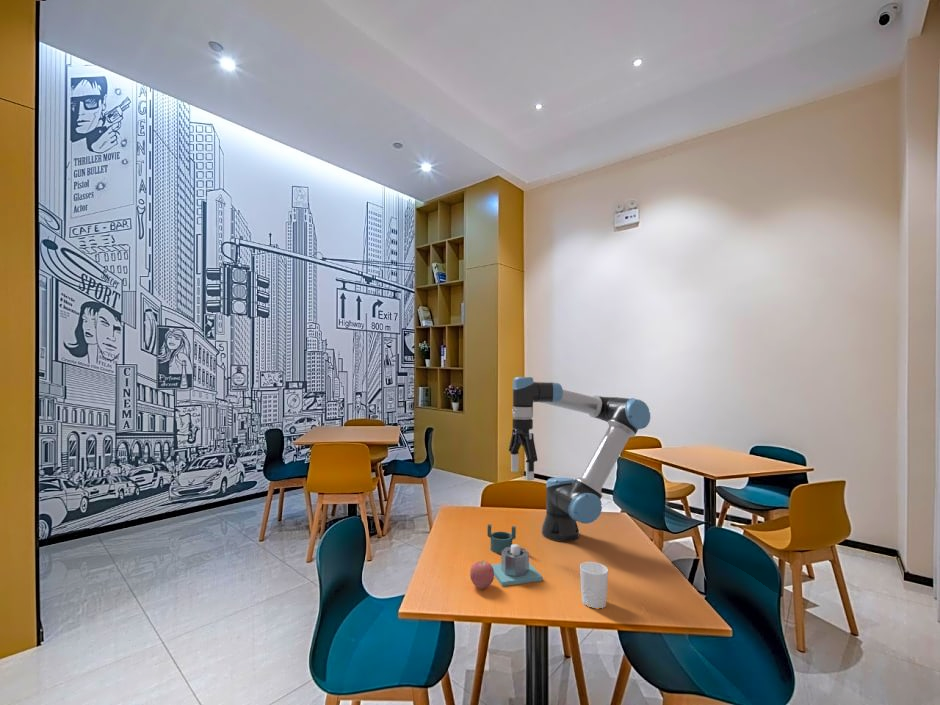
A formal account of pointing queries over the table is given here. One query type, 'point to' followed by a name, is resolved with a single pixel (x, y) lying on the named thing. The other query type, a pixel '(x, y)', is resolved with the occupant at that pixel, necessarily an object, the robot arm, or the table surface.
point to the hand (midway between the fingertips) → (522, 475)
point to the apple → (482, 574)
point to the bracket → (501, 539)
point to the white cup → (594, 584)
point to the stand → (509, 580)
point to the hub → (515, 563)
